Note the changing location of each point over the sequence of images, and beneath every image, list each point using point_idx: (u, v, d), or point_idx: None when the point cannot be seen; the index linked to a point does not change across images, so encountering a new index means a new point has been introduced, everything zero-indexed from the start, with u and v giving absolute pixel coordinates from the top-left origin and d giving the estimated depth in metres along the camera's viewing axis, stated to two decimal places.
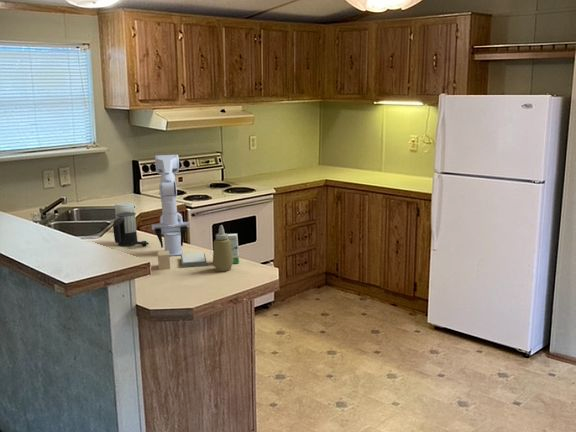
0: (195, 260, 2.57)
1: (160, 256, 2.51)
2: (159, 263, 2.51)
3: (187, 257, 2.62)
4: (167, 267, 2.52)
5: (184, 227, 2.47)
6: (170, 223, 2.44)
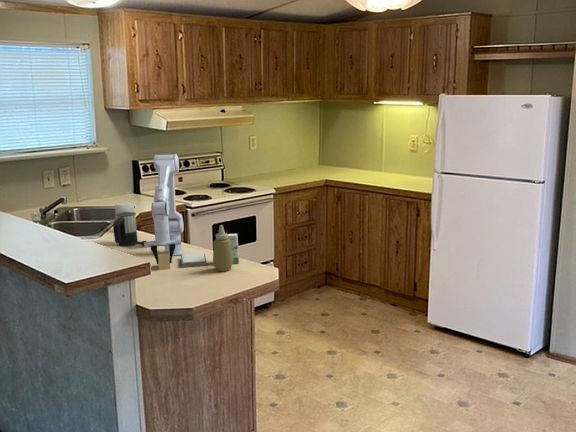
0: (195, 260, 2.57)
1: (160, 256, 2.51)
2: (159, 263, 2.51)
3: (187, 257, 2.62)
4: (167, 267, 2.52)
5: (176, 245, 2.54)
6: (162, 241, 2.51)
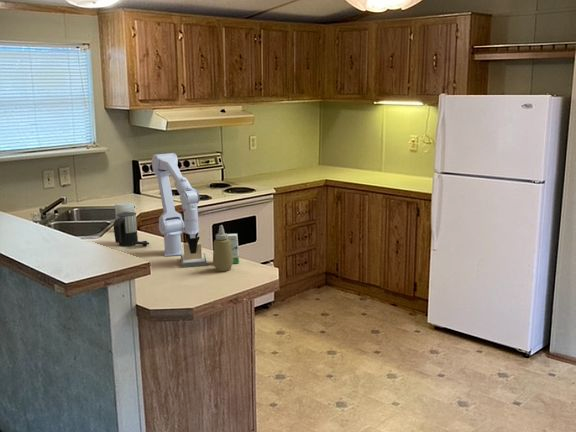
0: (195, 260, 2.57)
1: (183, 244, 2.61)
2: None
3: None
4: (184, 257, 2.59)
5: None
6: None
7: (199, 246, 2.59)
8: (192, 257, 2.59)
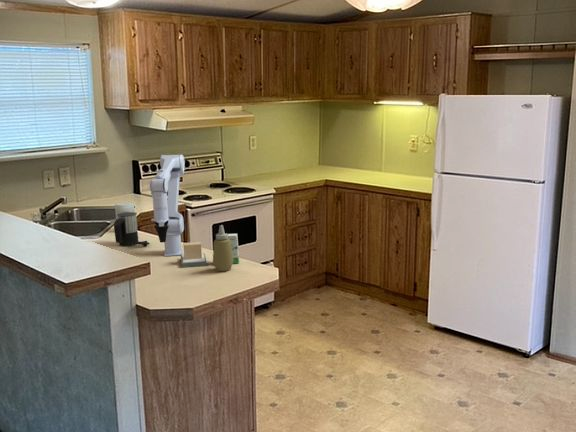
0: (195, 260, 2.57)
1: (183, 244, 2.61)
2: None
3: None
4: (184, 257, 2.59)
5: (159, 225, 2.53)
6: (154, 217, 2.57)
7: (199, 246, 2.59)
8: (192, 257, 2.59)
